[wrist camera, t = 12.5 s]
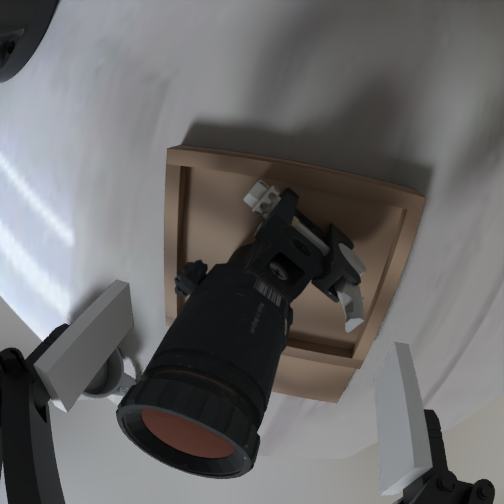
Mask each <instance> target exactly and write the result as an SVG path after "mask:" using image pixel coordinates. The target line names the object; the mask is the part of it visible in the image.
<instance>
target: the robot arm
mask: <svg viewBox="0 0 504 504" xmlns="http://www.w3.org/2000/svg"><path fill="white" fill-rule="evenodd" d="M56 1H57V0H0V83H2V82H5V81H7V80H9V79H11V78H12V77H13V76H15V75H16V74H17V73H18V72H19V71H20V70H21V69H22V67H23V66H24V65H25V64H26V63H27V61H28V60H29V58H30V57H31V55H32V54H33V52H34V51H35V49H36V47H37V46H38V44H39V42H40V40H41V38H42V36H43V34H44V32H45V30H46V28H47V26H48V23H49V21H50V19H51V16H52V13H53V10H54V8H55V4H56ZM133 325H134V321H133V314H132V306H131V298H130V288H129V283H127V282H123V281H120V280H116V281H115V282H114V283H112V284H111V285H110V286H109V287H108V288H107V289H106V290H105V291H104V292H103V293H102V294H101V295H100V296H99V297H98V298H97V299H96V300H95V301H94V302H93V303H92V304H91V305H90V306H89V307H88V308H87V309H86V310H85V311H84V312H83V313H82V314H81V315H80V316H79V317H78V318H77V319H76V320H75V321H74V322H73V323H72V324H71V325H68V324H66V323H65V324H63V325H61V326H59V327H57V328H55V329H54V330H53V331H52V332H51V333H50V334H49V337H47V338H46V339H45V340H44V342H42V343H41V344H40V345H39V346H38V347H37V348H36V349H35V350H34V351H33V352H32V353H31V354H30V355H29V356H28V357H27V359H26V360H25V359H24V357H23V355H22V353H21V352H20V350H18V349H16V348H7V349H4V350H3V351H1V352H0V478H1V470H2V462H3V467H4V477H5V485H6V492H7V498H8V504H65V500H64V496H63V492H62V488H61V483H60V479H59V474H58V469H57V464H56V459H55V453H54V446H53V439H52V432H51V424H50V414H49V406H48V403H47V402H48V401H49V400H50V398H51V400H52V401H53V403H54V405H55V406H56V407H58V408H60V409H61V410H63V411H65V412H67V413H68V412H69V410H70V409H71V408H72V406H73V405H74V403H75V402H76V401H77V399H78V398H79V397H80V395H81V394H82V392H83V391H84V390H85V388H86V387H87V386H88V384H89V383H90V382H91V380H92V379H93V378H94V376H95V375H96V374H97V372H98V371H99V370H100V368H101V367H102V366H103V364H104V363H105V362H106V360H107V359H108V358H109V356H110V355H111V354H112V352H113V351H114V350H115V349H116V347H117V346H118V345H119V343H120V342H121V341H122V339H123V338H124V337H125V336H126V334H127V333H128V332H129V330H130V329H131V328H132V327H133ZM374 388H375V399H376V412H377V427H378V447H379V495H396V494H398V493H399V492H400V491H402V490H403V497H402V498H400V499H399V500H397V501H396V502H394V503H393V504H493V500H494V496H495V489H494V486H493V484H492V483H491V482H490V481H489V480H487V479H481V480H478V481H477V482H476V483H474V484H471V483H466V482H462V481H458V480H457V478H456V476H455V475H454V474H453V473H452V472H451V471H449V470H448V467H447V461H446V455H445V449H444V443H443V439H442V432H441V431H440V430H441V427H440V422H439V419H438V417H437V415H436V414H435V412H434V410H426V409H423V404H422V399H421V395H420V390H419V385H418V381H417V376H416V372H415V368H414V364H413V360H412V356H411V352H410V348H409V344H405V343H398V342H394V344H393V346H392V348H391V350H390V352H389V354H388V355H387V357H386V359H385V361H384V363H383V365H382V366H381V368H380V370H379V372H378V373H377V375H376V377H375V379H374Z"/></svg>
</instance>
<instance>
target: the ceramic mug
mask: <svg viewBox="0 0 504 504" xmlns="http://www.w3.org/2000/svg"><path fill="white" fill-rule="evenodd" d="M132 385H136V381H135V379H134V378H132V377H131V376H129V375H127V374H125V373H124V364H123V359H122V356H121V353H120V351H119V350H118V348H117V347H116V349H115V350H114V351H113V352H112V354H111V355H110V356H109V358H108V359H107V360H106V362H105V363H104V364H103V366H102V367H101V368H100V370H99V371H98V372H97V374H96V375H95V376H94V378H93V379H92V380H91V382H90V383H89V384H88V386H87V387H86V388H85V390H84V391H83V392H82V394H81V395H80V397H79V398H78V399H77V401H82V400H91V399H101V398H104V397H107V396H109V395H111V394H114V395H119V396H125V394H126V393H127V391H128V390H129V388H130V387H131V386H132Z"/></svg>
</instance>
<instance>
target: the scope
mask: <svg viewBox="0 0 504 504" xmlns="http://www.w3.org/2000/svg"><path fill="white" fill-rule="evenodd" d="M298 199H299V196H298V195H297V194H296V193H295V192H294V191H292V190H291V189H290V188H286V189H285V190H284V191H283V192H282V193H281V194H280V195H279V190H278V189H277V188H276V187H274V186H271V187H269V186H268V185H267V184H266V183H264V182H263V181H262V180H259V181H258V182H257V183H256V184H255V185H254V186H253V188H252V189H251V190H250V191H249V193H248V194H247V195H246V196H245V198H244V202H246V203H247V204H248V205H249V206H251V207H252V208H253V209H252V212H254V213H255V214H256V215H257V216H262V215H263V214H264V215H263V217H264V220H263V221H262V223H261V224H260V225H259V226H258V228H257V230H256V232H255V234H254V235H253V236H255V238H256V240H255V241H254V242H253V243H251V244H248V245H244V246H241V247H240V248H239V249H237V250H236V251H234V253H233V254H232V255H231V257H230V258H229V260H228V262H227V263H222V264H215V265H214V266H213V268H212V269H211V270H210V271H209V272H208V273H207V274H206V272H207V270H208V265H207V264H204V263H203V262H202V260H196V261H195V262H187V263H186V265H184V267H183V268H182V269H181V270H180V272H179V273H178V275H177V277H178V278H177V277H175V278H174V281H175V284H176V287H175V293H176V294H179V295H180V297H181V298H185V297H187V296H188V295H190V297H189V298H188V299H187V301H186V302H185V304H184V305H183V307H182V308H181V310H180V311H179V314H178V315H177V317H176V318H175V320H174V322H173V323H172V325H171V327H170V328H169V330H168V331H167V333H166V335H165V337H164V338H163V340H162V342H161V343H160V345H159V347H158V349H157V350H156V352H155V354H154V355H153V357H152V359H151V361H150V362H149V364H148V366H147V367H146V369H145V371H144V373H143V375H142V377H141V381H139V382H138V384H136V385H132V386H131V387H130V388H129V390H128V391H127V393H126V394H125V396H124V397H123V399H122V400H121V402H120V403H119V405H118V409H117V411H116V416H117V421H118V424H119V426H120V428H121V429H122V431H123V433H124V434H125V435H126V436H127V437H128V438H129V439H130V440H131V441H132V442H133V443H134V444H135V445H137V446H138V447H139V448H140V449H141V450H142V451H144V452H145V453H147V454H148V455H150V456H151V457H153V458H155V459H157V460H158V461H160V462H162V463H164V464H166V465H168V466H170V467H173V468H175V469H178V470H181V471H183V472H186V473H189V474H193V475H197V476H202V477H207V478H214V479H229V478H236V477H240V476H242V475H244V474H246V473H247V472H249V471H250V470H251V469H252V468H253V466H254V463H255V461H256V457H257V453H258V449H259V445H260V436H259V435H258V434H257V431H258V429H259V427H260V425H261V423H262V420H263V417H264V413H265V411H266V409H267V405H268V402H269V398H270V394H271V391H272V387H273V383H274V379H275V375H276V372H277V368H278V364H279V360H280V356H281V353H282V352H283V351H284V349H285V348H286V346H287V341H288V335H289V330H290V326H291V325H292V324H293V309H292V308H291V307H290V303H292V302H293V300H294V299H296V298H297V297H298V296H299V295H300V294H301V293H302V292H303V291H304V289H305V288H306V286H307V285H308V284H309V282H310V281H311V284H313V285H314V286H315V287H316V288H318V289H319V290H320V291H321V292H322V293H324V294H325V295H326V296H327V297H329V298H330V299H331V300H332V301H333V302H335V303H338V302H339V301H341V303H342V307H343V310H344V313H345V316H346V321H345V331H346V332H350V331H352V330H353V329H354V328H356V327H357V326H358V325H359V324H361V323H362V322H363V321H365V320H364V311H363V302H362V301H363V300H364V297H362V296H361V291H360V287H359V284H360V283H361V278H360V276H361V275H362V274H363V273H364V272H365V271H366V268H365V265H364V264H363V262H362V261H361V260H360V258H359V257H358V256H357V255H356V254H355V253H354V252H353V251H352V249H353V248H354V244H353V242H352V241H351V240H350V239H349V238H348V237H347V236H346V235H345V234H344V233H343V232H341V231H340V230H339V229H338V228H337V227H336V226H335V225H334V224H333V223H331V224H330V225H329V232H328V233H327V234H326V235H325V236H324V234H323V232H322V230H321V229H320V228H319V227H317V226H316V225H315V224H314V223H313V222H312V221H310V220H309V219H308V218H307V217H306V216H305V215H303V214H302V213H301V212H300V211H299V210H297V209H296V206H297V202H298Z"/></svg>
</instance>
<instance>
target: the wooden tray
mask: <svg viewBox="0 0 504 504" xmlns="http://www.w3.org/2000/svg"><path fill="white" fill-rule="evenodd" d="M259 180H262V181H263V182H264V183H266V184H267V185H268V186H269V187H271V186H274V187H276V188H277V189H278V190H279V195H280V194H281V193H282V192H283V191H284V190H285V189H286V188H290V189H291V190H292V191H294V192H295V193H296V194H297V195H298V196H299V199H298V202H297V206H296V209H297V210H299V211H300V212H301V213H302V214H303V215H305V216H306V217H307V218H308V219H309V220H310V221H312V222H313V223H314V224H315V225H316V226H317V227H319V228H320V229H321V230H322V232H323V234H324V236H325V235H326V234H327V233H328V232H329V225H330V224H331V223H333V224H334V225H335V226H336V227H337V228H338V229H339V230H340V231H341V232H343V233H344V234H345V235H346V236H347V237H348V238H349V239H350V240H351V241H352V242H353V244H354V248H353V249H352V251H353V252H354V253H355V254H356V255H357V256H358V257H359V258H360V260H361V261H362V262H363V264H364V265H365V268H366V271H365V272H364V273H363V274H362V275H361V276H360V278H361V283H360V284H359V287H360V291H361V296H362V297H364V300H363V301H362V302H363V311H364V320H365V321H363V322H362V323H361V324H359V325H358V326H357V327H356V328H354V329H353V330H352V331H350V332H346V331H345V321H346V316H345V313H344V310H343V307H342V303H341V301H339V302H338V303H335V302H333V301H332V300H331V299H330V298H329V297H327V296H326V295H325V294H324V293H322V292H321V291H320V290H319V289H318V288H316V287H315V286H314V285H313V284H311V281H310V282H309V284H308V285H307V286H306V288H305V289H304V291H303V292H302V293H301V294H300V295H299V296H298V297H297V298H296V299H294V300H293V302H292V303H290V307H291V308H292V309H293V324H292V325H291V326H290V330H289V335H288V341H287V346H286V348H285V349H284V351H283V352H282V353H281V356H280V360H279V364H278V368H277V372H276V375H275V379H274V383H273V387H272V392H277V393H282V394H287V395H292V396H297V397H302V398H308V399H314V400H319V401H326V402H332V403H338V401H339V399H340V397H341V395H342V393H343V392H344V390H345V388H346V386H347V384H348V382H349V380H350V378H351V376H352V374H353V372H354V370H355V368H356V369H360V368H361V366H362V364H363V362H364V360H365V358H366V356H367V354H368V352H369V350H370V348H371V345H372V343H373V341H374V339H375V337H376V335H377V332H378V330H379V328H380V326H381V324H382V321H383V319H384V317H385V314H386V312H387V310H388V307H389V305H390V302H391V300H392V298H393V295H394V293H395V290H396V288H397V285H398V282H399V280H400V277H401V274H402V272H403V269H404V266H405V264H406V261H407V258H408V255H409V252H410V249H411V246H412V243H413V240H414V237H415V234H416V231H417V228H418V225H419V222H420V218H421V215H422V212H423V208H424V205H425V201H426V197H425V196H423V195H422V194H421V193H420V192H419V191H418V190H415V189H412V188H408V187H405V186H401V185H397V184H394V183H390V182H386V181H382V180H378V179H374V178H370V177H366V176H362V175H358V174H353V173H349V172H345V171H340V170H336V169H331V168H326V167H322V166H317V165H312V164H307V163H302V162H296V161H291V160H285V159H280V158H274V157H268V156H262V155H256V154H249V153H242V152H235V151H228V150H221V149H213V148H205V147H196V146H187V145H178V146H174V147H171V148H167V160H166V180H165V209H164V283H165V312H166V325H168V326H171V325H172V323H173V322H174V320H175V318H176V317H177V315H178V314H179V311H180V310H181V308H182V307H183V305H184V304H185V302H186V301H187V299H188V298H189V297H190V295H188V296H187V297H185V298H181V297H180V295H179V294H176V293H175V287H176V284H175V281H174V278H175V277H177V275H178V273H179V272H180V270H181V269H182V268H183V267H184V265H186V263H187V262H195V261H196V260H202V262H203V263H204V264H207V265H208V270H207V272H206V274H207V273H208V272H209V271H210V270H211V269H212V268H213V266H214V265H215V264H222V263H227V262H228V260H229V258H230V257H231V255H232V254H233V253H234V251H236V250H237V249H239V248H240V247H241V246H244V245H248V244H251V243H253V242H254V241H255V240H256V238H255V236H253V235H254V234H255V232H256V230H257V228H258V226H259V225H260V224H261V223H262V221H263V220H264V217H263V215H264V214H263V215H262V216H257V215H256V214H255V213H254V212H252V209H253V208H252V207H251V206H249V205H248V204H247V203H246V202H244V198H245V196H246V195H247V194H248V193H249V191H250V190H251V189H252V188H253V186H254V185H255V184H256V183H257V182H258V181H259ZM177 278H178V277H177Z"/></svg>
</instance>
